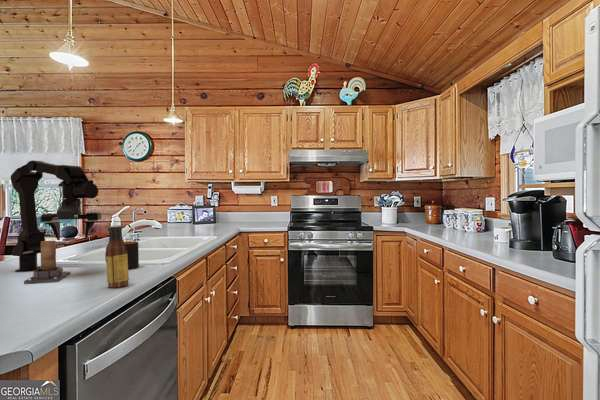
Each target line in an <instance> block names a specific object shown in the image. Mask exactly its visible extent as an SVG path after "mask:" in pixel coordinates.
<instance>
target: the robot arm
mask: <svg viewBox="0 0 600 400" xmlns="http://www.w3.org/2000/svg"><path fill="white" fill-rule="evenodd" d="M43 173H44V174H49V175H53V176H55V177H56V178H57V179H59V180H61V182H59V184H58V186H57V187H60V188H62V189H61V190H62V192H61V194H62V201H61V205H60V207H59V208H57V210H56V212H54V213H53V212H52V213H42V214H41V215H40V222H41V223H42V222H43V223H44V224H45V225H48V226H49V227H50V228H51V229H52V231H53V234H54V235H55V238H56V241H60V240H61V227H60V226H61V224H60V223H61V222H60V220H61V221H62V220H86V221H85V222H84V223H85V233H84V234H85V235H84V239H85V240H88V238H89V235H90V233H91V231H92V228H93V226H94V224H95V223H97V222H98V221H100V220H102V213H101V212H99V211H96V212H93V211H91V212H87V213H85V214H83V213H82V200H81V199H94V198H96V197H97V196H98V195H99V188H98V186H97V185H96V184H95V183H94V180H93V179H88V177H87V175H86V173H85V172H84V170H83V168H82V167H81V166H79V165H67V164H54V163H49V162H45V161H42V160H34V159H33V160H29V161H27V162H26V164H24V165H22V166H20V167H18V168H16V169H15V171H13V172H12V174H11V175H10V180H11V181H10V182H11V185H12V188H13V189H14V190H15V191H16V193H17V195H18V202H19V213H20V222H21V231H20V233H19V234H18V236H17V243H16V244H15V246H14V247H13V248H12V250H11V254H12V256H13V257H18V263H19V264H18V265H19V267H18V268H17V269H15V270H14V271H15V272H28V271H29V272H30V271H31V272H33V271H34V270H36V269H40V268H41V265H38V254H41V241H46V237H45V236H46V235H45V234H46V233H45V232H44V231H41V230H40V229H39V227H38V218H37V208H36V198H35V192H36V191H37V189H38V188H39V181H40V180H41V179H42V178H43V177H44V176H43V175H44V174H43Z"/></svg>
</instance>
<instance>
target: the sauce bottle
mask: <svg viewBox="0 0 600 400" xmlns="http://www.w3.org/2000/svg"><path fill="white" fill-rule="evenodd" d="M107 231H108V235H109V238H108V243H107V245H106V247H105V253H106V259H105V263H106V277H107V279H106V280H107V285H108V286H107V287H109V288H115V289H116V288H123V287H126V286H128V285H129V280H130V277H129V276H130V275H129V270H128V258H127V249H126V246H125V244H124V242H125V241H124V239H123V226H122V225H110V226H108V228H107Z"/></svg>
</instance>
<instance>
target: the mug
mask: <svg viewBox="0 0 600 400" xmlns="http://www.w3.org/2000/svg"><path fill="white" fill-rule="evenodd" d="M123 242H124V244H125V246H126V249H127V258H128V271H129V270H136V269H138V268H139V267H140V266H139V265H140V264H139V263H140V262H139V255H140V254H139V241H134V240H133V241H123ZM104 255H105V256H104V257H105V260H106V252H105V254H104Z"/></svg>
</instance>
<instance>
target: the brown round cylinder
mask: <svg viewBox="0 0 600 400" xmlns="http://www.w3.org/2000/svg"><path fill="white" fill-rule="evenodd" d="M56 259H57V240H53V239H52V240H45V241H41V253H40V266H41V267H40V268H41V271H51V270H56V267H57V260H56Z"/></svg>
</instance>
